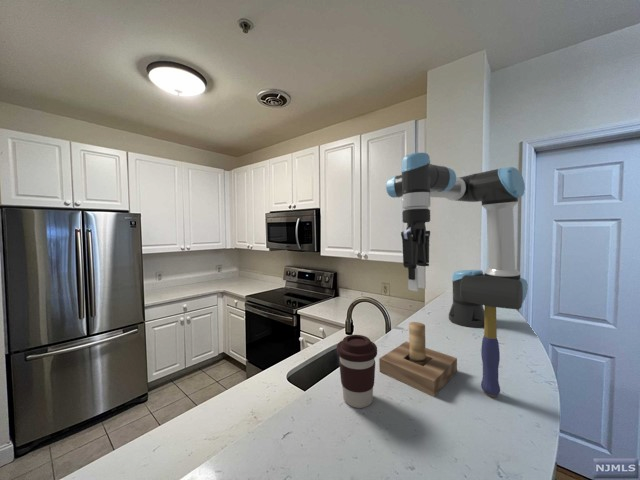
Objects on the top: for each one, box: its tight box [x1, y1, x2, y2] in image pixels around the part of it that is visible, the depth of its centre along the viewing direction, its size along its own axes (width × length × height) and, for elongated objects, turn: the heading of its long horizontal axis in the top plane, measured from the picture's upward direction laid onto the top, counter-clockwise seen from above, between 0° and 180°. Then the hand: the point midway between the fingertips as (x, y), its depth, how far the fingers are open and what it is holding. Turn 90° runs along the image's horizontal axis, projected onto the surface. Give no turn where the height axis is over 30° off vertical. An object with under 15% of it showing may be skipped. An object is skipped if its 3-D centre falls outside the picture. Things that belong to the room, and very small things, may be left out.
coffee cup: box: [336, 334, 378, 409], centre depth 62 cm, size 10×10×15 cm
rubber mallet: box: [460, 275, 523, 398], centre depth 62 cm, size 12×8×30 cm, turn 45°
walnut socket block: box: [378, 341, 458, 398], centre depth 74 cm, size 16×16×4 cm
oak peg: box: [408, 321, 426, 366], centre depth 74 cm, size 5×5×14 cm
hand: (417, 289), depth 73 cm, fingers open, 4 cm apart
